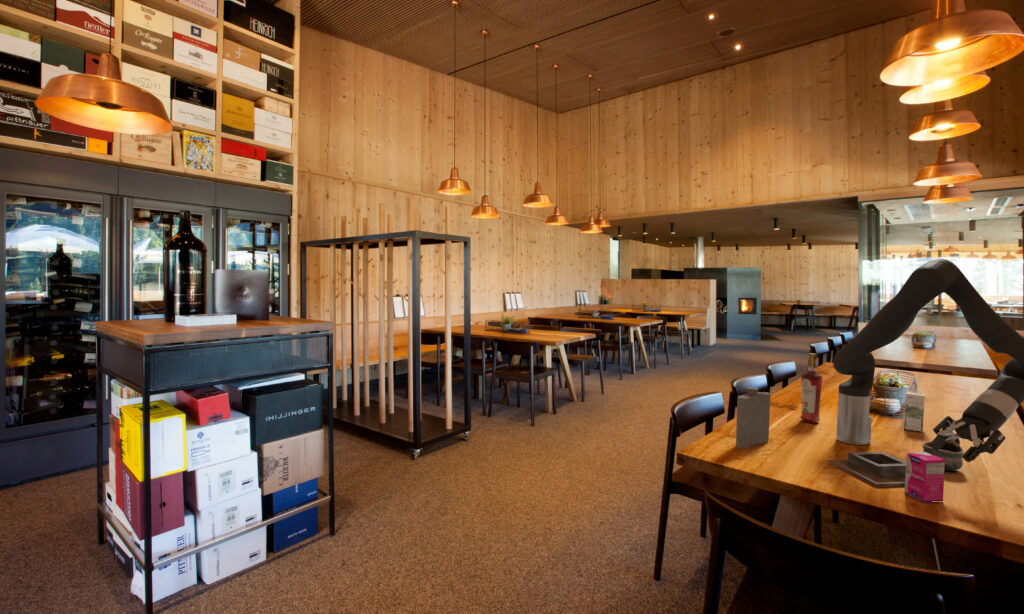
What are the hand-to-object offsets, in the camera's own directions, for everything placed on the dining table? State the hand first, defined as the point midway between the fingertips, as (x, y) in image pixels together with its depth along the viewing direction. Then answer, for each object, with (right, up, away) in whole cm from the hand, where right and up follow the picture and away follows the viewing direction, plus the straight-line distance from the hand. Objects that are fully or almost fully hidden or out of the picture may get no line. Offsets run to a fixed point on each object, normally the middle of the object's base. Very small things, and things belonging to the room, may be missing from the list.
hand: (948, 453), depth 128 cm
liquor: (+6, -8, +69) cm, 70 cm away
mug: (+17, -11, +21) cm, 30 cm away
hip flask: (-32, -10, +42) cm, 53 cm away
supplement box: (-7, -12, 0) cm, 14 cm away
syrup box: (+40, -9, +60) cm, 72 cm away
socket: (-6, -11, +16) cm, 20 cm away
